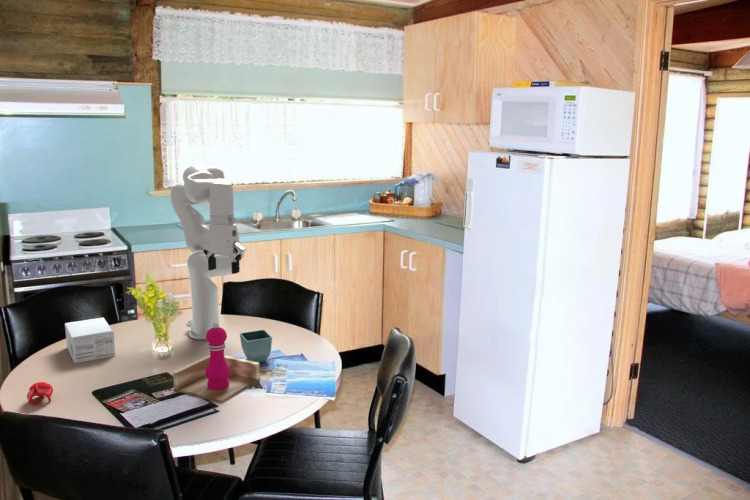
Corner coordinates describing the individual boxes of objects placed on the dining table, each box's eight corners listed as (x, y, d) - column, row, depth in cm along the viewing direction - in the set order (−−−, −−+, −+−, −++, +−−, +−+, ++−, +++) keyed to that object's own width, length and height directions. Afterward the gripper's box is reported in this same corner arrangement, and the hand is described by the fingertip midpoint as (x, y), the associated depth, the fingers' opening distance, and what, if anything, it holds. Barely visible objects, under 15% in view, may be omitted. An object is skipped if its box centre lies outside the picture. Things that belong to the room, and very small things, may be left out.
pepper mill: (232, 381, 192) (230, 318, 188) (228, 391, 185) (226, 326, 181) (208, 381, 192) (205, 319, 188) (203, 391, 185) (201, 326, 180)
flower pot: (247, 367, 205) (246, 341, 204) (239, 358, 213) (239, 332, 211) (273, 362, 209) (272, 337, 208) (264, 354, 217) (264, 329, 215)
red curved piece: (55, 394, 176) (56, 376, 180) (32, 391, 173) (33, 374, 177) (47, 410, 180) (48, 393, 184) (23, 408, 177) (25, 391, 181)
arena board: (173, 390, 187) (173, 387, 187) (214, 369, 203) (214, 367, 203) (221, 402, 179) (221, 400, 179) (259, 380, 195) (259, 377, 195)
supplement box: (66, 348, 220) (63, 322, 218) (106, 341, 227) (104, 316, 226) (73, 363, 206) (71, 336, 205) (115, 356, 214) (114, 330, 212)
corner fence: (173, 387, 187) (172, 372, 186) (214, 367, 203) (213, 352, 202) (221, 400, 179) (220, 383, 178) (259, 377, 195) (259, 362, 194)
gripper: (250, 220, 203) (252, 272, 206) (209, 216, 210) (211, 266, 214) (236, 224, 196) (237, 277, 200) (193, 219, 204) (195, 270, 207)
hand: (223, 271), depth 207 cm, fingers open, 9 cm apart
